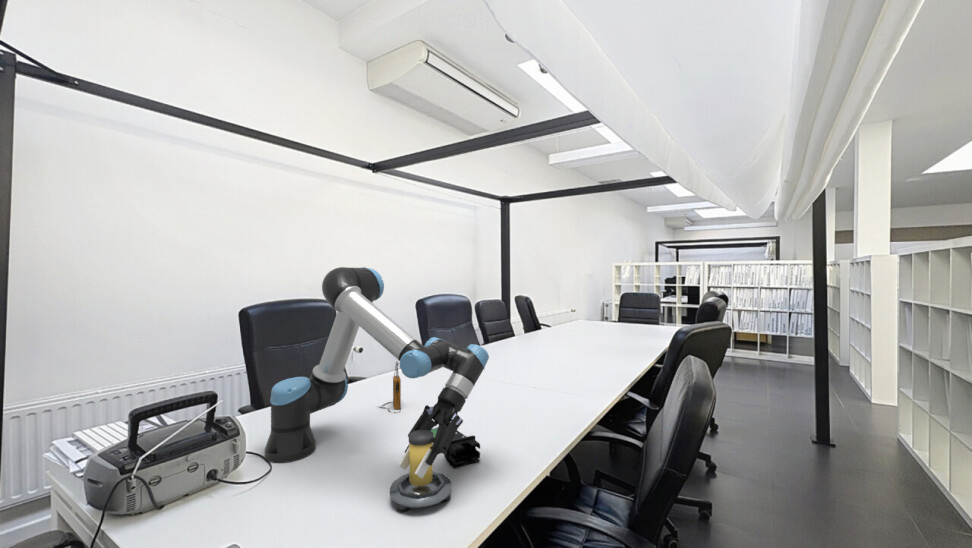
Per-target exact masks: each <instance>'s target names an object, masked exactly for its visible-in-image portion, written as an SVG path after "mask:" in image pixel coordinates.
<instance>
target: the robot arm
mask: <svg viewBox="0 0 972 548" xmlns="http://www.w3.org/2000/svg"><path fill="white" fill-rule="evenodd" d="M384 290H385V283H384V280H383V278H382V275H381V274H380V272H378V271H377V270H375V269H374V268H368V267H366V266H362V267H346V266H345V267H344V266H343V267H342V266H341V267H335V268H334V269H331V270H330V271H328V272H327V274H325V276H324V278H323V280H322V283H321V291H322V295H323V296H324V299H325V300H326V302H327V303H328V304H329V305H330V307H332V308H333V309H334V310H335V311H336V316H335V318H334V321H333V324H332V327H331V329H330V333H329V336H328V338H327V341H326V343H325V346H324V347H325V348H324V350H323V352H322V356H321V359H320V361H319V364H317V365H315V366H314V367H313V368H312V370H311V374H310V377H309V378H308V377H307V376H295V377H292V378H291V377H290V378H286V379H283V380H280V381H279V382H277V383H275V384H274V385H273V386H272V388H271V390H270V391H271V392H270V399H269V401H270V433H269V437H268V440H267V442H266V445H265V448H264V459H265V458H266V459H267V460H268V462H271V463H289V462H294V461H295V462H296V461H298V460H301V459H303V458H307V457H308V456H311V454H313V453H314V452H315V451H316V447H317V443H316V438H315V436H314V432H313V430H312V428H311V414H314V413H316V412H318V411H321V410H324V409H327V408H329V407H332V406H334V405H336V404H337V403H340V402H341V401H343V399H344V398H345V396H346V395H347V393H348V389H349V384H348V379H347V374H346V372H345V367H346V365H347V362H348V360H349V355H350V353H351V350H352V347H353V345H354V342H355V339H356V336H357V334H358V331H359V328H361V329H362V330H363V331H364V332H366V333H367V334H368V335H369V336H370V337H371V338H372V339H373V340H375V341H376V342H377V343H378V344H380V345H381V346H382V348H384V349H385V350H387V352H388V353H390V354H391V355H392V356H393V357H394V358H395V359H396V360H398V361H399V368H400V370H401V373H402V374H403V375H404V376H405V377H406V378H409V379H418V378H420V377H424V376H427V375H428V374H429V373H430V374H431V373H433V372H434V371H437V370H439V369H441V368H444V369H447V370H449V371H452V373H451V374H450V375H449V378H448V379H447V381H446V383H445V384H444V386H445V387H442V390H441V391H440V392H439V395H438V396H437V402H436V403H434V405H433V406H429V405H428V404H426V405H425V406H424V408H423V412H422V413H421V414H420V416H419V418H418V419H417V420H416V422H415V424H414V425H413V426H412V428H411V429H410V431H409V432H408V434H407V437H408V438H409V434H410V433H411V432H413V431H416V430H429V431H431V429H434V427H438V430H437V433H436V436H435V439H434V442H433V443H432V447H430V448H431V449H432V450H430V449H428V450H427V452H426V454H425V456H424V457H423V459H422V461H421V463H420V464H419V466H418V468H417V470H416V471H415V474H416V475H417V476H419V477H420V478H422V479H423V477H424V475H425V473H426V471H427V470H428V468H429V466H431V465H432V466H433V464H434V462H435V460H436V459H437V456H438V455H439V454H442V455H444V454H445V453H446V452H447V450H448V448H449V446H450V444H451V442H452V439H453V437H454V435H455V433H456V431H457V430H458V429H459V428H460V426H462V424H463V423H464V419H462V418H461V417H460V415H458V413H459V412H461V411H462V409H463V407H464V405H465V404H466V399H468V398H469V396H470V395H471V392H472V390H473V388H475V385H476V383H477V382H478V380H479V378H480V376H481V375H482V374H483V372H484V370H485V368H486V365H487V363H488V361H489V358H490V356H489V353H488V351H487V350H486V349H485V348H484V347H482V346H480V345H478V344H474V343H471V344H469V345H467V346H466V348H464V347H460V346H458V345H456V344H453V343H452V342H449V341H447V340H444V339H443V338H439V337H433V336H432V337H431V338H429V339H428V340H426V342H425V344H424V345H423V344H422V343H421V342H420V341H418V340H417V339H415V338H414V337H413V336H412V335H411V334H410V333H408V332H407V331H406V330H405V329H404V328H403V327H402V326H400V325H399V324H398V323H396V321H395V320H393V319H392V318H391V317H389V316H388V315H387V314H386V313H385V312H383V310H381V308H380V307H378V306H377V305H375V304H374V301H375V302H376V301H377V300H379V299H380V298H381V297H382V295H383V293H384ZM266 459H265V460H266ZM267 460H266V461H267ZM397 465H398V466H399V467H400V468H402V469H403V470H405V471H407V470H408V467H409V444H408V446H407V447H406V449H405V451H404V454H403V456H402V457H401V459H400V461H399V462H398V464H397Z"/></svg>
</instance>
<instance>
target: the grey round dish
mask: <svg viewBox="0 0 972 548" xmlns="http://www.w3.org/2000/svg"><path fill="white" fill-rule="evenodd" d="M451 491H452V481H451V479H450V478H449V477H448V476H447V475H446V474H443V473H441V472H438V471H434V470H432V482H431V483H429V484H427V485H424V486H414V485H412V484H411V483H410V482H409V473H406V474H403V475H400V476H399V477H398V478H396V479H394V481H393V482H392V483H391V485H390V487H389V497H390V499H391V500H392V501H393V502H394V503H395V504H396V505H395V507H396V512H398V513H407V512H409V511H410V510H411V509H412V508H414V509H418V508H426V507H431V506H434V505H437V504H440V503H441V504H445V503H449V501H451V493H452V492H451Z"/></svg>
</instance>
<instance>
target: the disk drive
mask: <svg viewBox="0 0 972 548" xmlns="http://www.w3.org/2000/svg"><path fill="white" fill-rule="evenodd" d="M437 430H438V426H435V428H434V427H433V428H432V429H431V431H432V432H433V441H432V444H433V442H434V439H435V436H436V433H437ZM464 437H467V435H465V434H463V433H462V432H460V431H459V430H458V429H457V431H456V433H455V435H454V437H453V439H452V440H455V439H460V438H464Z"/></svg>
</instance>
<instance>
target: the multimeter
mask: <svg viewBox="0 0 972 548" xmlns="http://www.w3.org/2000/svg"><path fill="white" fill-rule="evenodd" d="M399 365H400V362H398V361H396V362H395V365H394V367H395V369H394V371H395V372H393V373H394V375H393V376H392V401H389V402H385V403H384V404H382V405H380V406H376V407H377V408H380V409H388V410H387V411H388V413H389V412H390V413H391V411H390V408H389V407H385V405H387V404H391V403H392V406H393V410H394V411H393V412H394V413H393V414H397V413H396V412H395V409H396V410H399V412H401V411H402V410H401V409H402V408H401V406H402V405H401V403H402V402H401V395H402V394H401V393H402V391H401V386H402V385H401V379H402V378H401V377H400V375H399V374H398V373H399V367H398V366H399ZM383 405H384V406H383Z"/></svg>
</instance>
